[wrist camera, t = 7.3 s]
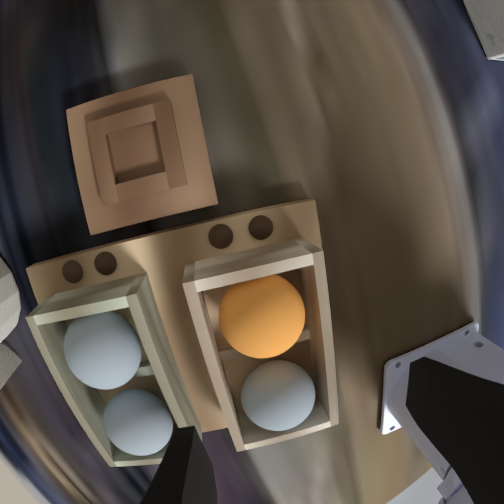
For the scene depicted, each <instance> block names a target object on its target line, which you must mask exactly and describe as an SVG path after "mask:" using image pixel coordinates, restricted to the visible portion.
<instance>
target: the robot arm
mask: <svg viewBox="0 0 504 504" xmlns="http://www.w3.org/2000/svg"><path fill="white" fill-rule="evenodd" d="M397 363H398V364H397ZM396 364H397V365H396ZM401 427H402V428H403V429H404V431H405V432H406V433H407V435H408V436H409V437H410V438H411V440H412V441H413V442H414V444H415V445H416V446H417V447H418V449H419V450H420V451H421V453H422V454H423V455H424V456H425V458H426V459H427V460H428V462H429V463H430V464H431V466H432V467H433V468H434V469H435V471H436V472H437V473H438V475H439V476H440V477H441V479H442V480H443V482H442V483H441V484H440V485H439V486H438V487H437V489H438V490H439V492H440V493H441V495H442V496H443V498H441V500H440V501H439V503H438V504H504V350H503V349H501V348H500V347H498V346H497V345H495V344H494V343H492V342H491V341H489V340H488V339H486V338H485V337H483V336H482V335H480V334H479V333H478V323H476V322H472V323H470V324H468V325H466V326H464V327H462V328H460V329H458V330H456V331H454V332H452V333H450V334H448V335H446V336H444V337H442V338H439V339H437V340H435V341H433V342H431V343H429V344H426V345H424V346H422V347H420V348H417V349H415V350H413V351H410V352H408V353H406V354H403V355H401V356H398V357H396V358H393V359H391V360H389V361H388V362H387V363H386V364H385V366H384V384H383V402H382V416H381V427H380V431H381V433H382V434H387V433H390V432H392V431H394V430H396V429H399V428H401ZM139 504H217V490H216V484H215V477H214V472H213V466H212V462H211V460H210V458H209V456H208V454H207V452H206V450H205V447H204V445H203V443H202V441H201V439H200V437H199V434H198V432H197V430H196V427H195V426H188V427H182V428H176V429H175V430H174V431H173V434H172V437H171V439H170V442H169V444H168V447H167V449H166V451H165V454H164V456H163V458H162V461H161V463H160V465H159V467H158V469H157V471H156V473H155V475H154V478H153V480H152V482H151V484H150V485H149V487H148V489H147V491H146V493H145V494H144V496H143V498H142V500H141V501H140V503H139Z"/></svg>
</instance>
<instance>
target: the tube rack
mask: <svg viewBox="0 0 504 504" xmlns="http://www.w3.org/2000/svg"><path fill="white" fill-rule="evenodd" d="M26 271H27V274H28V277H29V280H30V283H31V286H32V289H33V292H34V295H35V297H36V300H37V303H38V306H37V307H36V308H35V309H34V310H33V311H32V312H31V313H29V314H28V315H27V316H26V320H27V322H28V325H29V327H30V329H31V332H32V334H33V336H34V339H35V341H36V343H37V345H38V347H39V349H40V352H41V354H42V356H43V358H44V360H45V362H46V364H47V366H48V368H49V370H50V372H51V374H52V376H53V378H54V380H55V381H56V383H57V385H58V387H59V389H60V391H61V392H62V394H63V396H64V398H65V399H66V401H67V403H68V405H69V406H70V408H71V410H72V411H73V413H74V415H75V416H76V418H77V419H78V421H79V423H80V424H81V426H82V427H83V429H84V430H85V432H86V433H87V435H88V436H89V438H90V439H91V441H92V442H93V444H94V445H95V447H96V448H97V450H98V451H99V452H100V454H101V455H102V457H103V458H104V459H105V461H106V462H107V463H108V465H109V466H110V467H117V466H136V465H150V464H160V463H161V461H162V458H163V456H164V454H165V451H166V449H167V447H168V444H169V442H170V439H171V437H172V434H173V431H174V430H175V429H176V428H182V427H188V426H195V427H196V430H197V432H198V434H199V437H200V439H201V441H202V432H207V431H212V430H218V429H223V428H228V429H229V431H230V434H231V437H232V439H233V442H234V445H235V447H236V450H237V452H239V451H243V450H248V449H252V448H257V447H261V446H265V445H269V444H273V443H277V442H281V441H285V440H288V439H292V438H295V437H299V436H302V435H306V434H309V433H312V432H315V431H319V430H322V429H325V428H328V427H331V426H334V425H337V424H339V420H338V400H337V384H336V369H335V356H334V344H333V333H332V322H331V312H330V303H329V294H328V285H327V276H326V268H325V260H324V253H323V249H322V242H321V235H320V228H319V221H318V215H317V208H316V202H315V200H314V199H310V198H307V199H302V200H297V201H292V202H287V203H282V204H277V205H272V206H267V207H262V208H258V209H253V210H248V211H244V212H239V213H234V214H230V215H225V216H221V217H216V218H212V219H207V220H203V221H198V222H194V223H190V224H185V225H181V226H177V227H173V228H168V229H164V230H160V231H156V232H152V233H148V234H144V235H140V236H136V237H132V238H128V239H124V240H120V241H116V242H112V243H108V244H104V245H100V246H97V247H93V248H89V249H85V250H82V251H78V252H74V253H70V254H67V255H63V256H60V257H56V258H52V259H49V260H45V261H42V262H38V263H35V264H32V265H31V266H29V267H28V268H26ZM273 274H275V275H278V276H280V277H282V278H284V279H286V280H287V281H288V282H290V283H291V284H292V285H293V286H294V287H295V288H296V290H297V291H298V292H299V294H300V296H301V298H302V300H303V303H304V308H305V323H304V327H303V330H302V333H301V335H300V337H299V338H298V340H297V341H296V342H295V344H294V345H293V346H292V347H291V348H289V349H288V350H287V351H285V352H283V353H282V354H279V355H277V356H274V357H270V358H254V357H250V356H247V355H244V354H242V353H240V352H238V351H237V350H236V349H234V348H233V347H232V346H231V345H230V344H229V343H228V341H227V340H226V339H225V337H224V335H223V333H222V330H221V328H220V324H219V307H220V303H221V301H222V298H223V296H224V294H225V292H226V291H227V290H228V288H229V287H230V286H231V285H232V284H235V283H239V282H244V281H248V280H252V279H256V278H261V277H265V276H269V275H273ZM108 311H113V312H115V313H118V314H119V315H121V316H123V317H124V318H125V319H126V320H128V321H129V323H130V324H131V325H132V326H133V327H134V329H135V330H136V332H137V334H138V337H139V340H140V343H141V361H140V365H139V367H138V369H137V371H136V373H135V374H134V376H133V377H132V378H131V379H130V380H129V381H128V382H127V383H125V384H124V385H122V386H120V387H117V388H114V389H106V390H104V389H97V388H93V387H91V386H88V385H86V384H85V383H83V382H82V381H80V380H79V379H78V378H77V377H76V376H75V375H74V374H73V373H72V371H71V370H70V368H69V366H68V364H67V362H66V359H65V355H64V338H65V335H66V331H67V329H68V328H69V326H70V324H71V323H72V322H73V321H74V320H75V319H76V318H78V317H83V316H88V315H93V314H98V313H103V312H108ZM273 360H285V361H289V362H292V363H295V364H297V365H298V366H300V367H301V368H303V369H304V370H305V371H306V372H307V373H308V375H309V376H310V378H311V379H312V382H313V384H314V388H315V402H314V406H313V408H312V410H311V412H310V414H309V415H308V417H307V418H306V419H305V420H304V421H303V422H302V423H300V424H299V425H297V426H295V427H293V428H291V429H288V430H283V431H272V430H267V429H264V428H262V427H260V426H258V425H256V424H255V423H254V422H252V421H251V420H250V418H249V417H248V416H247V415H246V413H245V411H244V409H243V406H242V402H241V390H242V386H243V383H244V381H245V379H246V377H247V376H248V374H249V373H250V372H251V371H252V370H253V369H254V368H256V367H257V366H259V365H261V364H263V363H265V362H268V361H273ZM127 389H142V390H146V391H149V392H151V393H153V394H155V395H156V396H158V397H159V398H160V399H161V400H162V401H163V402H164V403H165V404H166V406H167V407H168V409H169V411H170V413H171V416H172V421H173V430H172V434H171V437H170V439H169V441H168V443H167V444H166V445H165V446H164V447H163V448H162V449H161V450H159V451H158V452H156V453H153V454H151V455H145V456H137V455H132V454H129V453H126V452H124V451H122V450H121V449H119V448H118V447H117V446H115V445H114V444H113V443H112V442H111V440H110V439H109V437H108V436H107V434H106V431H105V428H104V423H103V415H104V410H105V407H106V405H107V403H108V402H109V400H110V399H111V398H112V397H113V396H114V395H116V394H117V393H119V392H121V391H124V390H127Z"/></svg>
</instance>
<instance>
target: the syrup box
mask: <svg viewBox="0 0 504 504" xmlns="http://www.w3.org/2000/svg"><path fill="white" fill-rule="evenodd" d="M463 2H464V5H465V7H466V9H467V12H468V14H469V16H470V19H471V21H472V23H473V25H474V28H475V30H476V32H477V35H478V37H479V39H480V42H481V44H482V47H483V49H484V52H485V54H486V57H487V59H493V60H501V61H504V0H463Z"/></svg>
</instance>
